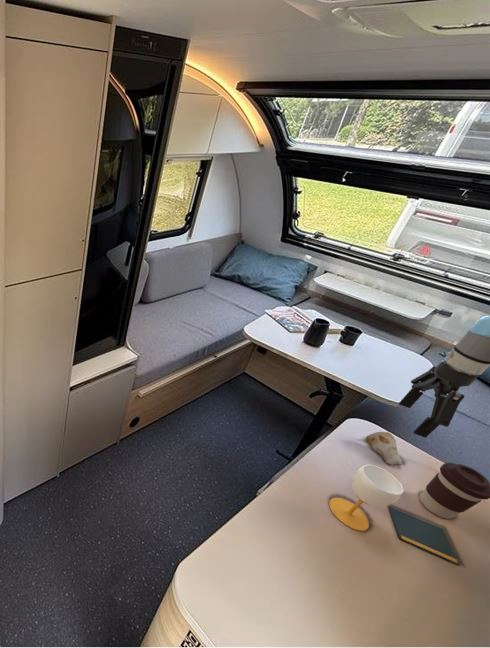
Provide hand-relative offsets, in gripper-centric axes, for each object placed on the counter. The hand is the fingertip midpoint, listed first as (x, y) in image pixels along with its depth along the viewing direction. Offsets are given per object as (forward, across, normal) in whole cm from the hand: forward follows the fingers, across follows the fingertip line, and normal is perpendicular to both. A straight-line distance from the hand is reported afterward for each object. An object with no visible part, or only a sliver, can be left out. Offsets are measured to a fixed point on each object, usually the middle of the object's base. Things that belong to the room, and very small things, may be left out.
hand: (411, 419), depth 110 cm
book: (+16, +28, +2) cm, 33 cm away
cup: (+16, +32, -14) cm, 39 cm away
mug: (+16, 0, 0) cm, 16 cm away
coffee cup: (+16, +15, +9) cm, 24 cm away
